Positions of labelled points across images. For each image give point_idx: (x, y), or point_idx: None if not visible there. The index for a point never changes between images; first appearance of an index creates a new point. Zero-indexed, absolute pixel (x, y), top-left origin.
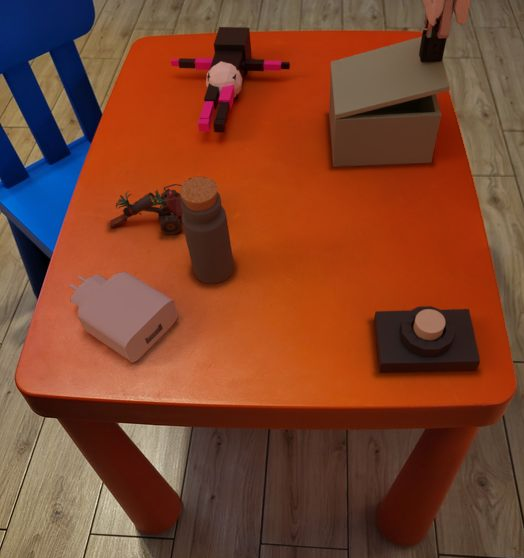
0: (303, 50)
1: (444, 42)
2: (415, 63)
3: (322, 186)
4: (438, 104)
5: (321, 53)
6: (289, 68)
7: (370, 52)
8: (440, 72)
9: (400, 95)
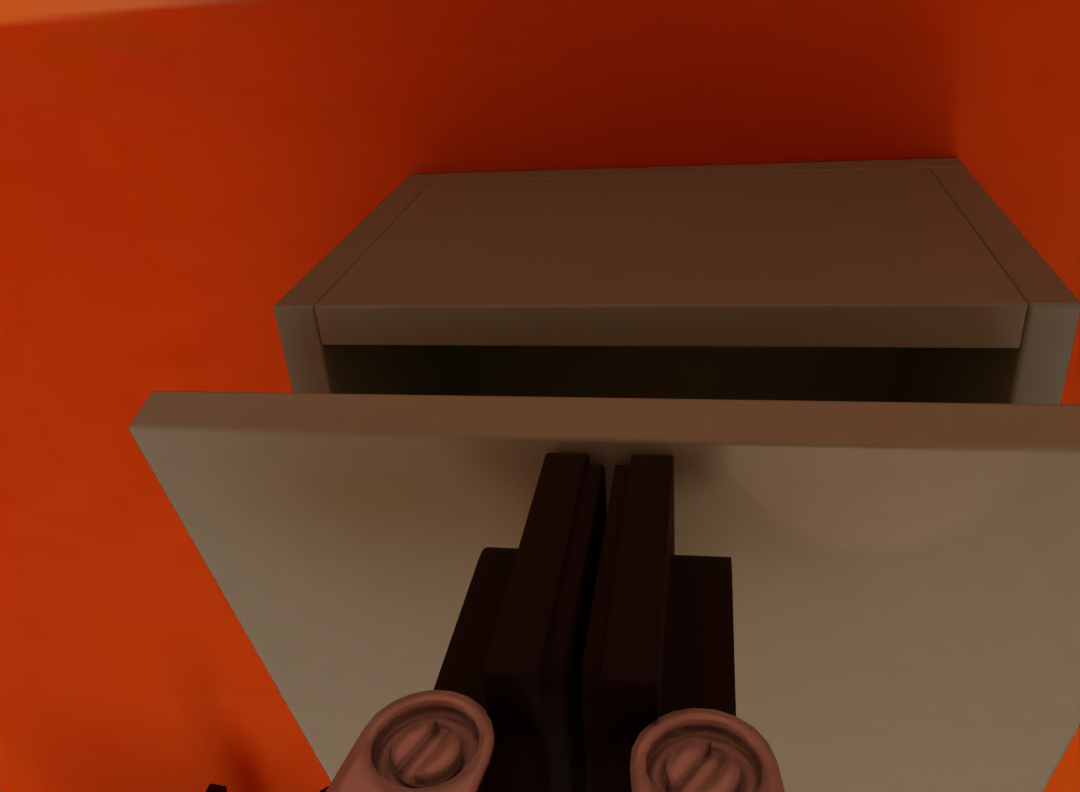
0: (12, 666)
1: (662, 614)
2: None
3: None
4: (913, 309)
5: (11, 603)
6: (222, 789)
7: None
8: (886, 485)
9: (1028, 745)
